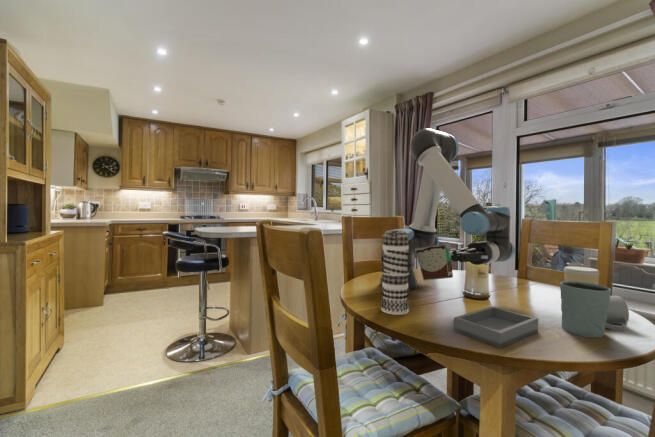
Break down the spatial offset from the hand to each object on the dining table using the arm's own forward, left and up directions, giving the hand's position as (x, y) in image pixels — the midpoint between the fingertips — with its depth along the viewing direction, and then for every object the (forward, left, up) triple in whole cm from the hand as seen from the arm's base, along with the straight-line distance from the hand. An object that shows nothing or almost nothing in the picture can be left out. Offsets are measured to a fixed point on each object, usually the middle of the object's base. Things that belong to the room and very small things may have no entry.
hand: (436, 258), depth 90 cm
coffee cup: (+18, +53, -17) cm, 58 cm away
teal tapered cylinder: (+28, +24, -17) cm, 41 cm away
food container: (+1, +2, -6) cm, 7 cm away
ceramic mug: (+29, +36, -17) cm, 50 cm away
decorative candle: (-10, -6, -17) cm, 21 cm away
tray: (+16, +4, -17) cm, 24 cm away
